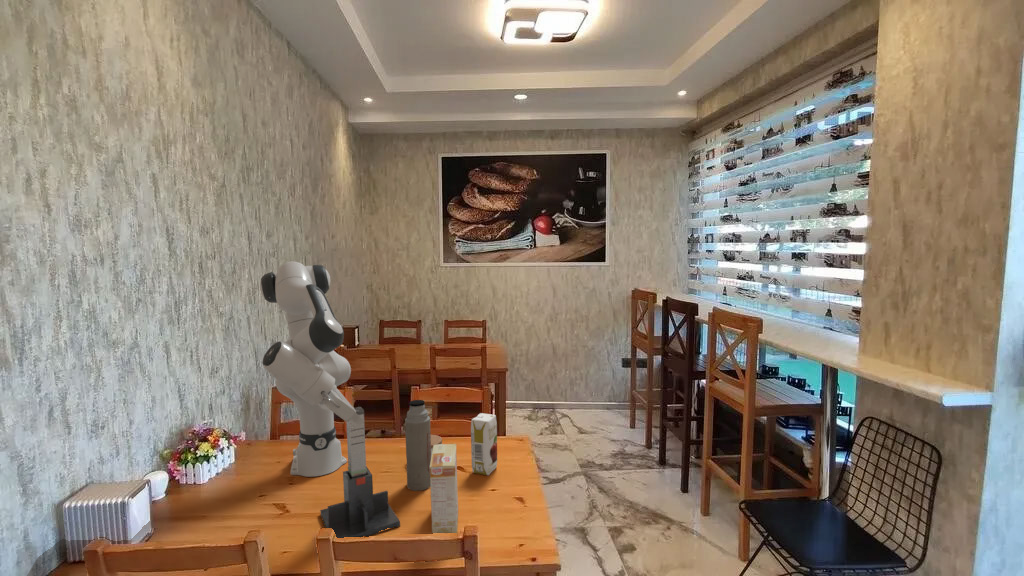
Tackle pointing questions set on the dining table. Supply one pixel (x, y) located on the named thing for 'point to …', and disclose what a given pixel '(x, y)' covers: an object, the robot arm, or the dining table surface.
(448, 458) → the coffeecake box
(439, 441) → the lidded jar
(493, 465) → the juice carton
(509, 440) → the dining table surface
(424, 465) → the thermos bottle
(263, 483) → the dining table surface
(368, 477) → the jack stand
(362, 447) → the steel column
